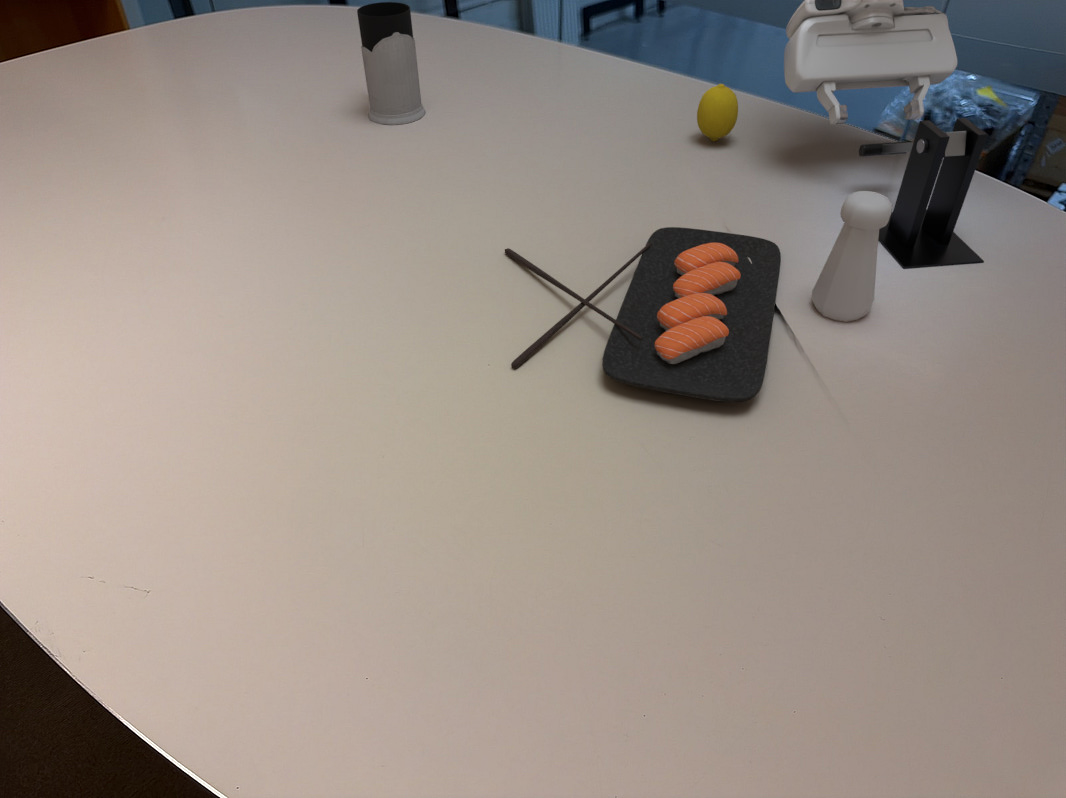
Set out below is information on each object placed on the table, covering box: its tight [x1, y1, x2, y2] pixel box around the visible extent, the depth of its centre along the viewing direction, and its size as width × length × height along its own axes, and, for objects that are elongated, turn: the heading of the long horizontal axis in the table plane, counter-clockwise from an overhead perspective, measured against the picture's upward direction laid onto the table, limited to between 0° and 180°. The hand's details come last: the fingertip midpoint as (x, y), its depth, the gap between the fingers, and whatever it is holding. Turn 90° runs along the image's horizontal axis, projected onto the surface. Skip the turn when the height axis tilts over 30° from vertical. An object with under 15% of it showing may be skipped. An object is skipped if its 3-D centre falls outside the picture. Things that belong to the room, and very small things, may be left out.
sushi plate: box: [504, 226, 782, 403], centre depth 82 cm, size 29×30×4 cm
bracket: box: [878, 117, 988, 270], centre depth 87 cm, size 12×9×14 cm
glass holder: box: [356, 1, 426, 126], centre depth 122 cm, size 9×14×15 cm, turn 30°
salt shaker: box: [811, 190, 893, 323], centre depth 77 cm, size 6×6×13 cm
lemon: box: [696, 83, 739, 142], centre depth 112 cm, size 6×6×8 cm
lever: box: [858, 131, 967, 158], centre depth 90 cm, size 15×6×2 cm, turn 7°
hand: (877, 120), depth 97 cm, fingers open, 8 cm apart
